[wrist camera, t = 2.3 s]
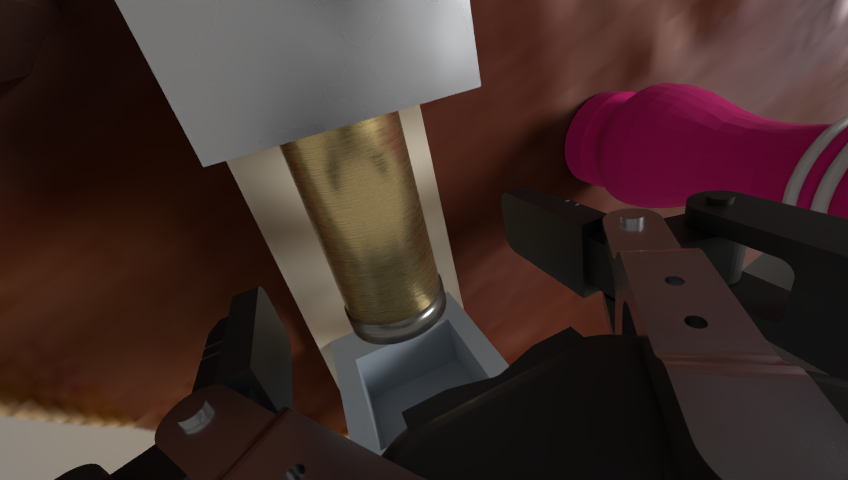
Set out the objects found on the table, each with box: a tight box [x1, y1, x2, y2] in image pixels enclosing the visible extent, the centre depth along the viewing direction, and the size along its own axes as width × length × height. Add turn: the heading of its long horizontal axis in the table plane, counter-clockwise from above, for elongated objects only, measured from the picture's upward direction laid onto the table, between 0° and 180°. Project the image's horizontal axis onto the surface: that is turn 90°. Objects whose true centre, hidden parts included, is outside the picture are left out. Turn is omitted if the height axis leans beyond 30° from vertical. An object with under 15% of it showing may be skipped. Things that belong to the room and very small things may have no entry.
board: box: [226, 105, 464, 390], centre depth 21 cm, size 24×10×1 cm, turn 13°
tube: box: [279, 111, 447, 345], centre depth 13 cm, size 18×5×5 cm, turn 13°
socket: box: [331, 292, 509, 456], centre depth 21 cm, size 4×8×10 cm, turn 103°
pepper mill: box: [565, 83, 848, 219], centre depth 17 cm, size 7×7×20 cm
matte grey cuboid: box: [115, 0, 481, 167], centre depth 12 cm, size 5×8×9 cm, turn 103°
